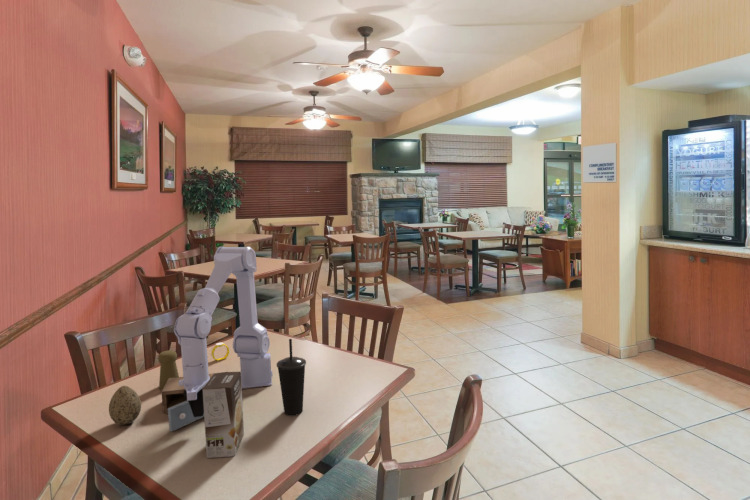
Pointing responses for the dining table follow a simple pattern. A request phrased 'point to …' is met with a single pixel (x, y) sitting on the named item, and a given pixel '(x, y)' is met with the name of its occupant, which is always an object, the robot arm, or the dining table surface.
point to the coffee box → (223, 414)
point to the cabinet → (173, 393)
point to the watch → (220, 346)
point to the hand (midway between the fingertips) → (198, 415)
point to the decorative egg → (124, 406)
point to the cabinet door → (180, 415)
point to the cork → (167, 367)
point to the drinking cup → (292, 382)
